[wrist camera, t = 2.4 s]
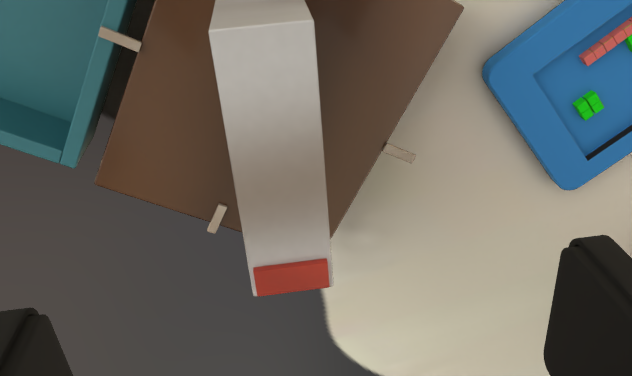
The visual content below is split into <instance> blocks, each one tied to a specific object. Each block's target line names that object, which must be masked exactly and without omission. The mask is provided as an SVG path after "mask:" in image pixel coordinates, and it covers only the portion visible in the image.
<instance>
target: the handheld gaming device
mask: <svg viewBox="0 0 632 376" xmlns="http://www.w3.org/2000/svg"><path fill="white" fill-rule="evenodd" d="M482 77H483V80H484V82H485V83H486V85H487V86H488V87H489V89H490V90H491V92H492V93H493V95H494V96H495V98H496V99H497V101H498V102H499V103H500V105H501V106H502V108H503V109H504V111H505V112H506V114H507V115H508V116H509V118H510V119H511V121H512V122H513V124H514V125H515V127H516V128H517V130H518V131H519V132H520V134H521V135H522V137H523V138H524V140H525V141H526V143H527V144H528V146H529V147H530V148H531V150H532V151H533V153H534V154H535V156H536V157H537V159H538V160H539V161H540V163H541V164H542V166H543V167H544V169H545V170H546V172H547V173H548V175H549V176H550V177H551V179H552V180H553V181H554V182H555V183H556V184H557V185H558V186H559V187H560V188H562V189H564V190H573V189H576V188H578V187H580V186H582V185H583V184H585V183H586V182H588V181H589V180H591V179H592V178H594V177H595V176H597V175H598V174H600V173H601V172H603V171H604V170H606V169H607V168H609V167H610V166H612V165H613V164H615V163H616V162H618V161H619V160H620V159H622V158H623V157H625V156H626V155H628V154H629V153H631V152H632V0H565V1H563V2H562V3H561V4H560V5H558V6H557V7H556V8H554V9H553V10H552V11H550V12H549V13H548V14H547V15H545V16H544V17H543V18H541V19H540V20H539V21H537V22H536V23H535V24H534V25H532V26H531V27H530V28H528V29H527V30H526V31H525V32H523V33H522V34H521V35H519V36H518V37H517V38H515V39H514V40H513V41H512V42H510V43H509V44H508V45H506V46H505V47H504V48H503V49H501V50H500V51H499V52H497V53H496V54H495V55H493V56H492V57H491V58H490V59H489V60H488V61H487V62H486V63H485V65H484V67H483V70H482Z"/></svg>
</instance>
